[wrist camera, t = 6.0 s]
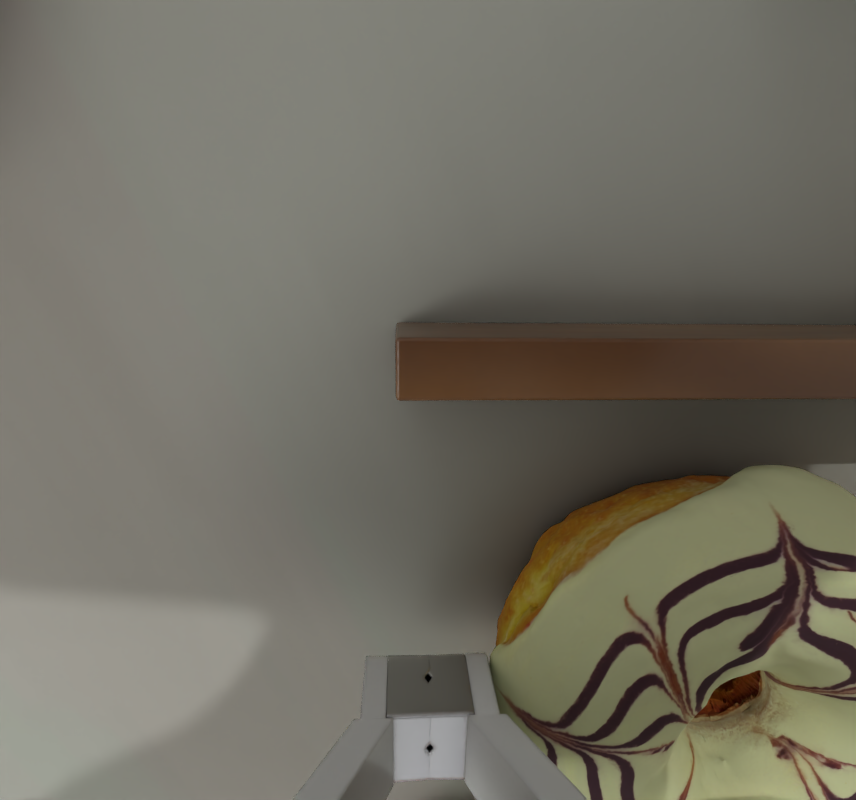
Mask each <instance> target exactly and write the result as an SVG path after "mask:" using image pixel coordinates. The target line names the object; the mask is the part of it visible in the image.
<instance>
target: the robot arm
mask: <svg viewBox="0 0 856 800" xmlns="http://www.w3.org/2000/svg"><path fill="white" fill-rule="evenodd" d="M456 779H465V783H466V785H467V786H468V788H469V789H470V791H471V792H472V794H473V796H474V797H475V799H476V800H587V799H586V797H585V796H584V795H583V794H582V793H581V792H580V791H579V789H578V788H577V787H576V786H575V785H574V784H573V783H572V782H571V781H570V780H569V779H568V778H567V777H566V776H565V775H564V774H563V773H562V772H561V771H560V770H559V768H558V767H557V766H556V765H555V764H554V763H553V762H552V761H551V760H550V759H549V758H548V757H547V756H546V755H545V754H544V753H543V752H542V751H541V750H540V748H539V747H538V746H537V745H536V744H535V743H534V742H533V741H532V740H531V739H530V738H529V737H528V736H527V735H526V734H525V733H524V732H523V731H522V730H521V729H520V727H519V726H518V725H517V724H516V723H515V722H514V721H513V720H512V719H511V718H510V717H509V716H508V715H507V714H500V711H499V707H498V702H497V698H496V693H495V689H494V684H493V679H492V675H491V670H490V666H489V661H488V657H487V655H486V653H465V654H441V655H397V656H367V657H366V660H365V669H364V681H363V693H362V705H361V717H360V719H354V720H353V721H352V723H351V724H350V725H349V726H348V728H347V729H346V730H345V732H344V733H343V734H342V736H341V737H340V738H339V739H338V741H337V742H336V743H335V745H334V746H333V747H332V749H331V750H330V751H329V753H328V754H327V755H326V756H325V758H324V759H323V760H322V762H321V763H320V764H319V766H318V767H317V768H316V770H315V771H314V772H313V773H312V775H311V776H310V777H309V779H308V780H307V781H306V783H305V784H304V785H303V787H302V788H301V789H300V790H299V792H298V793H297V794H296V796H295V797H294V798H293V800H386V799H387V797H388V795H389V793H390V791H391V789H392V787H393V783H395V782H407V781H420V780H456Z"/></svg>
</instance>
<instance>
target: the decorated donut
mask: <svg viewBox="0 0 856 800" xmlns="http://www.w3.org/2000/svg"><path fill="white" fill-rule="evenodd" d="M497 630H498V632H497V640H496V648H495V649H494V650H493V652H492V653H491V655H490V665H489V666H490V670H491V675H492V679H493V684H494V689H495V693H496V698H497V702H498V707H499V711H500V714H507V715H508V716H509V717H510V718H511V719H512V720H513V721H514V722H515V723H516V724H517V725H518V726H519V727H520V729H521V730H522V731H523V732H524V733H525V734H526V735H527V736H528V737H529V738H530V739H531V740H532V741H533V742H534V743H535V744H536V745H537V746H538V747H539V748H540V750H541V751H542V752H543V753H544V754H545V755H546V756H547V757H548V758H549V759H550V760H551V761H552V762H553V763H554V764H555V765H556V766H557V767H558V768H559V770H560V771H561V772H562V773H563V774H564V775H565V776H566V777H567V778H568V779H569V780H570V781H571V782H572V783H573V784H574V785H575V786H576V787H577V788H578V789H579V791H580V792H581V793H582V794H583V795H584V796H585V797H586V799H587V800H856V497H855V496H853V495H852V494H851V493H849V492H848V491H847V490H845V489H844V488H842V487H841V486H839V485H837V484H836V483H833V482H831V481H828V480H826V479H823V478H821V477H819V476H816V475H814V474H812V473H810V472H808V471H806V470H803V469H801V468H797V467H790V466H783V465H755V466H750V467H746V468H744V469H742V470H741V471H740V472H738V473H736V474H734V475H733V476H731V477H729V476H714V475H711V476H710V475H700V476H696V475H689V476H685V477H682V478H678V479H672V480H662V481H657V482H651V483H646V484H641V485H635V486H633V487H630V488H628V489H626V490H624V491H622V492H620V493H618V494H615V495H613V496H611V497H608V498H605V499H603V500H600V501H598V502H594V503H592V504H590V505H587V506H584V507H582V508H580V509H577V510H575V511H573V512H571V513H570V514H569V515H568V516H567V517H566V518H565V520H564V521H562V522H561V523H558V524H556V525H553V526H552V527H550V528H549V529H548V530H547V531H546V532H544V533H543V535H542V536H541V537H540V539H539V540H538V542H537V543H536V545H535V547H534V550H533V553H532V556H531V559H530V561H529V563H528V564H527V565H526V566H525V567H524V569H523V570H522V571H521V573H520V575H519V577H518V579H517V581H516V582H515V584H514V586H513V588H512V590H511V592H510V594H509V596H508V598H507V599H506V602H505V605H504V608H503V610H502V612H501V615H500V616H499V618H498V624H497Z"/></svg>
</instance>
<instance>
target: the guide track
mask: <svg viewBox="0 0 856 800" xmlns="http://www.w3.org/2000/svg"><path fill="white" fill-rule="evenodd" d="M395 362H396V398H397V400H400V401H429V400H698V399H856V325H781V324H598V323H415V322H400V323H397V325H396V338H395Z"/></svg>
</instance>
